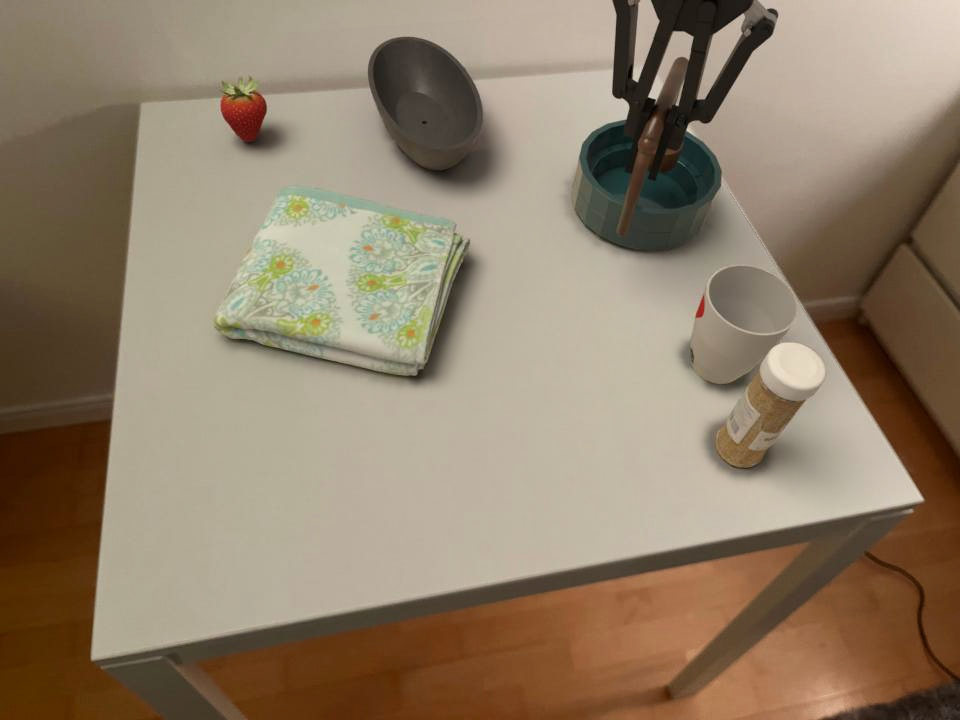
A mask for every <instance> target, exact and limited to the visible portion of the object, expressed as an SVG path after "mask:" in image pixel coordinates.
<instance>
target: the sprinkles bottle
mask: <svg viewBox="0 0 960 720" xmlns="http://www.w3.org/2000/svg"><path fill="white" fill-rule="evenodd" d="M760 363H761V364H760V366H759V369H758V372H757V373H756V375H755V376H754V377H753V379H752V380H751V382H750V383H749V384H748V385H747V387H746V388H745V391H744V392H743V393H742V395H741V396H740V397H739V399H738V401H737V403H736V404H735V405H734V407H733V408H732V410H731V411H730V413H729V415H728V417H727V420H725V421H726V422H725V423H724V424H723V426H721V428H719V429H718V431H717V433H716V434H715V438H714V445H715V449H716V452H717V454H718V455H719V456H720V457H721V459H723V460H724V461H725V462H726V463H728V465H731V466H734V467H735V468H736V467H737V468H744V469H745V468H746V469H747V468H752V467H755V466H756V465H758V464H759V463H761V462H762V459H763V458H764V456H765V454H766V452H767V451H768V450H769V449H770V448H771V447H772V446H773V444H774V443H775V442H776V441H777V440H778V439H779V437H780V435H781V434H782V432H783V431H784V430H785V429H786V428H787V426H788V425H789V424H790V423H791V421H792V420H793V419H794V417H795V416H796V415H797V412H799V410H800V408H802V406H803V405H804V403H805V402H806V401H807V400H808V399H810V398H812V397H814V395H815V394H816V392H818V391H819V389H820V388H821V386H822V385H823V383H824V382H825V380H826V376H827V368H826V366H825V362H824V361H823V359H822V358H821V356H820V355H819V354H818V353H817V352H815V351H814V350H813V349H812V348H810V347H808V346H806V345H804V344H802V343H798V342H792V341H786V342H779V343H778V344H777V345H776V346H774V347H773V348H772V349H771V350H770V351H769V353H768V354H767V355H766V357H765V358H764V359H763V360H762V361H761V362H760Z"/></svg>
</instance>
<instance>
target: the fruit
mask: <svg viewBox="0 0 960 720" xmlns="http://www.w3.org/2000/svg"><path fill="white" fill-rule="evenodd" d="M237 80H238V86H239V87H238V86H237V85H234V84H232V83H230V82H228V81H226V82H225V81H224V80H221V85H222V87H223V88H224V89H223V88H220V87H219V86H217V88H218V90H219V91H220V92H221V93H222V94H223V93H224V95H223V96H222V98H221V99H220V112H221V116H222V118H223V120H224V121H225V122H226V123H227V125H229V127H230V128H231V130H232V131H233V132H234V133H235V135H236V136H237V137H238V138H240V139H241V140H242V141H244V142H247V143H249V142H253V141H255V140H256V139H257V137H258V136H259V133H260V132H261V129H262V125H263V122H264V120H265V117H266V115H267V111H268V105H267V101H266V99H265V98H264V97H263V95H262V94H261V93H259V92H258V91H257V88H258V87H259V81H258V80H255V81H254V79H253V77H252V76H250V75H248V81H247V84H246V85H245V83H244V80H243V77H242V76H240V77H239V78H238V79H237Z"/></svg>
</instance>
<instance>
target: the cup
mask: <svg viewBox="0 0 960 720" xmlns="http://www.w3.org/2000/svg"><path fill="white" fill-rule="evenodd" d="M799 313H800V307H799V302H798V299H797V296H796V294H795V292H794V291H793V289H792V287H790V285H789V284H788V283H787V282H786V281H785V280H783V279H782V278H781V276H778V275H777V274H775V273H773V272H772V271H770V270H768V269H765V268H763V267H761V266H757V265H752V264H745V263H739V264H738V263H737V264H736V263H735V264H730V265H726V266H722V267H721V268H719V269H717V270H716V271H715V272H713V274H712V275H711V276H710V277H709V279H708V281H707V284H706V285H705V289H704V291H703V294H702V296H701V300H700V302H699V305H698V307H697V310H696V313H695V316H694V321H693V325H692V326H693V327H692V331H691V336H690V341H689V342H690V344H689V345H690V347H689V348H690V350H689V351H690V352H689V353H690V357H689V358H690V364H691V367H692V369H693V370H694V372H695V373H696V374H697V375H698V376H699V377H700V378H702V380H705V381H707V382H709V383H711V384H716V385H726V384H731V383H732V382H734V381H736V380H738V379H739V378H741V377H743V376H744V375H746V374H748V373H749V372H751V371H753V369H754V368H756V366H758V365H759V364H760V363H762V361H763V360H764V358H765V357H766V355H767V354H768V353H769V351H770V350H771V349H772V348H773V347H774V346H776V345H778V344H780V342H781V341H782V339H783V338H784V337H785V335H786V334H787V333H788V331H789V330H790V329H791V328H792V326H793V325H794V324H795V323H796V322H797V319H798V316H799Z"/></svg>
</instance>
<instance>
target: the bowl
mask: <svg viewBox="0 0 960 720" xmlns="http://www.w3.org/2000/svg"><path fill="white" fill-rule="evenodd" d="M367 79H368V80H367V81H368V85H369V89H370V92H371V95H372V98H373V101H374V103H375V106H376V109H377V111H378V113H379V116H380V118H381V120H382V122H383V124H384V126H385V128H386V130H387V132H388V133H389V135H390V136H391V138H392V139H393V141H394V142H395V144H396V145H397V146H398V147H399V149H400V150H401V151H402V152H403V153H404V154H405V155H406V156H407V157H408V158H409V159H410V160H411V161H412V162H414V163H415V164H417V165H418V166H420V167H422V168H424V169H426V170H430V171H434V172H435V171H437V172H440V171H444V170H448V169H450V168H452V167H454V166H456V165H457V164H458V163H460V162H461V161H462V160H463V159H465V157H466V156H467V154H469V152H470V151H471V149H472V147H473V146H474V144H475V142H476V140H477V138H478V137H479V134H480V132H481V129H482V126H483V123H484V108H483V103H482V99H481V96H480V95H481V94H480V92H479V91H478V88H477V86H476V84H475V82H474V80H473V78H472V77H471V75H470V74H469V72H468V71H467V69H466V68H465V66H464V65H463V64H462V63H461V62H460V61H459V60H458V59H457V58H456V57H455V56H454V55H453V54H452V53H451V52H449V51H448V50H446V49H445V48H444V47H442V46H441V45H439V44H437V43H435V42H433V41H431V40H428V39H425V38H422V37H416V36H398V37H393V38H390V39H387V40H384V41H383V42H382V43H380V44H378V46H376V47H375V49H374V50H373V51H372V53H371V54H370V57H369V61H368V65H367Z"/></svg>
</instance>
